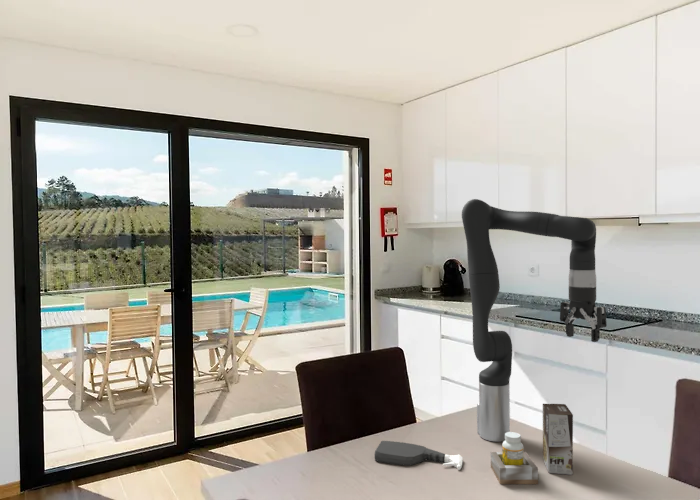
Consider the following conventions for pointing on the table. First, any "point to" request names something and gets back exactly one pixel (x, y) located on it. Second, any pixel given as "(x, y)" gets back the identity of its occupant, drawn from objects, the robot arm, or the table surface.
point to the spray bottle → (413, 454)
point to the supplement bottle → (512, 449)
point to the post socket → (514, 470)
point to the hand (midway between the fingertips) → (582, 339)
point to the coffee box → (558, 438)
